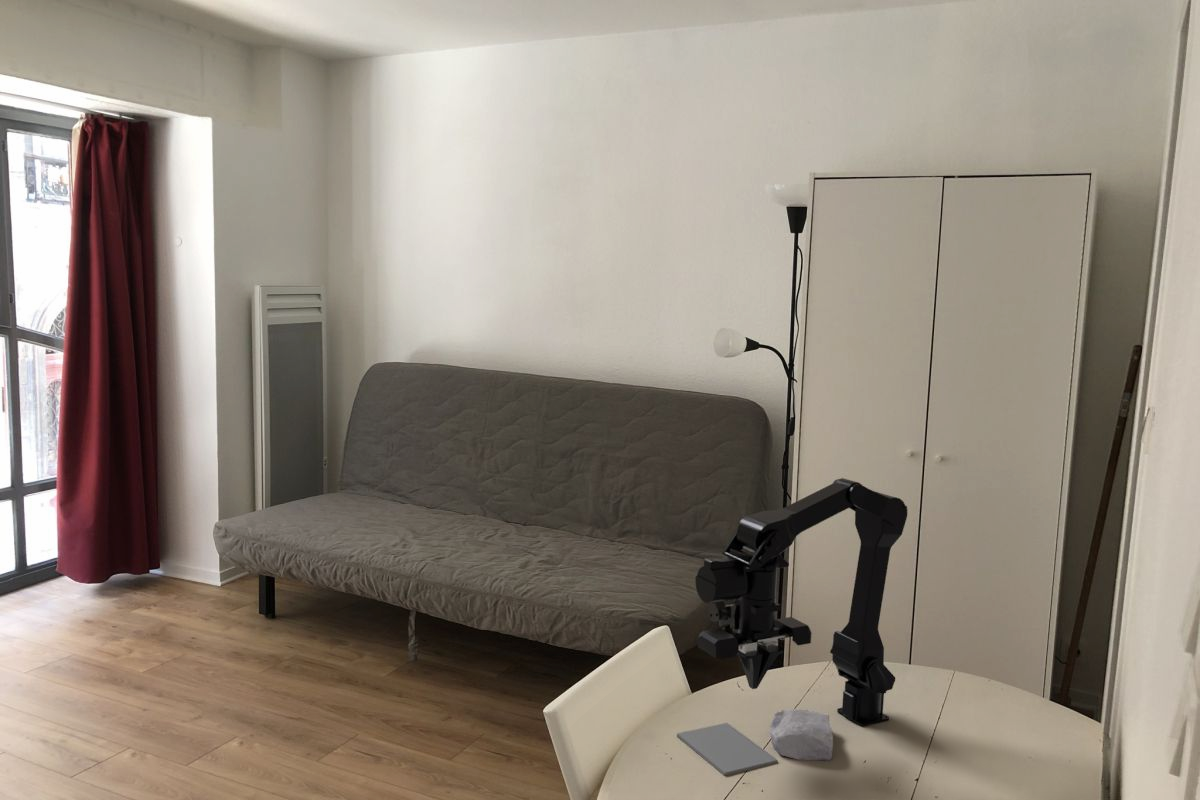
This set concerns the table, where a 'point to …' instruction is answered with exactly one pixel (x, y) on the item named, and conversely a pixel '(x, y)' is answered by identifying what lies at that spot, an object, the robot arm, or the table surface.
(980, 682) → the table surface
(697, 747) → the mat
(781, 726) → the stone block
